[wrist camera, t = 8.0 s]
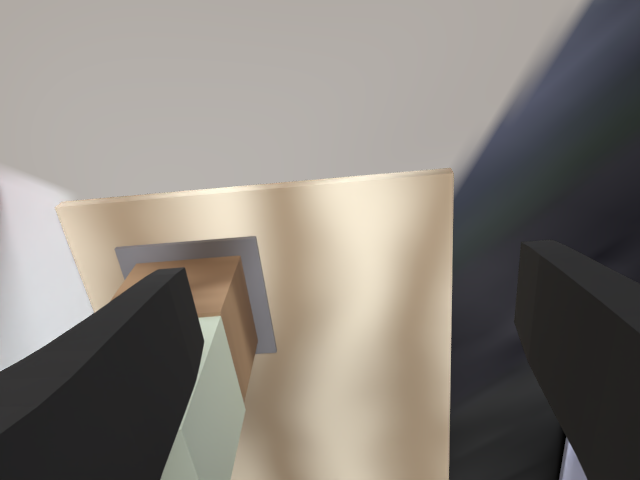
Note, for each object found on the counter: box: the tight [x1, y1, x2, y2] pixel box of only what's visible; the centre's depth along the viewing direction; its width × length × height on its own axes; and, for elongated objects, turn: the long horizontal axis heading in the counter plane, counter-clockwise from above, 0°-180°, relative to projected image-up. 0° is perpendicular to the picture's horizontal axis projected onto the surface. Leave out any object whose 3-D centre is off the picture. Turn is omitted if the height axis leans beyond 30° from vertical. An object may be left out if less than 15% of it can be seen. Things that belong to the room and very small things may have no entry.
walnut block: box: [110, 256, 258, 402], centre depth 21 cm, size 4×4×4 cm
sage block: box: [160, 316, 246, 480], centre depth 17 cm, size 4×4×5 cm
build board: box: [55, 168, 454, 480], centre depth 25 cm, size 16×20×1 cm
